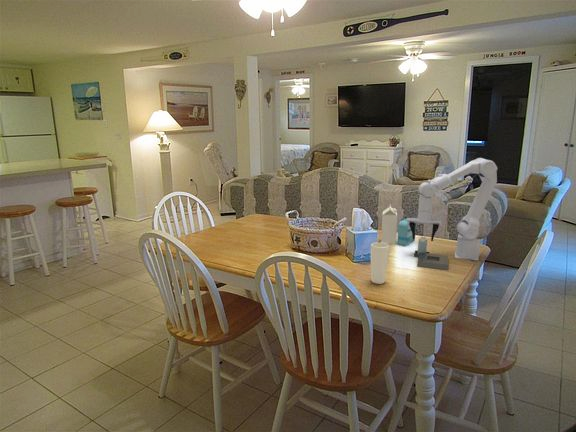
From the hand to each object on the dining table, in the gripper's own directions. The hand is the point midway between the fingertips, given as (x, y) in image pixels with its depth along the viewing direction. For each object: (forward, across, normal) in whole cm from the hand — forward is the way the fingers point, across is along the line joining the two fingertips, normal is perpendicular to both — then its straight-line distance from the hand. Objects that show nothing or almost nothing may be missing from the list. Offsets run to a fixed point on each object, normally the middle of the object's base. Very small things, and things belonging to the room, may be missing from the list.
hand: (422, 239), depth 182 cm
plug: (+7, 0, 0) cm, 7 cm away
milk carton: (+8, +17, -16) cm, 24 cm away
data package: (+8, +8, -17) cm, 20 cm away
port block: (+8, -5, +9) cm, 13 cm away
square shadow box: (+8, 0, 0) cm, 8 cm away
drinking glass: (+8, +14, +35) cm, 39 cm away
